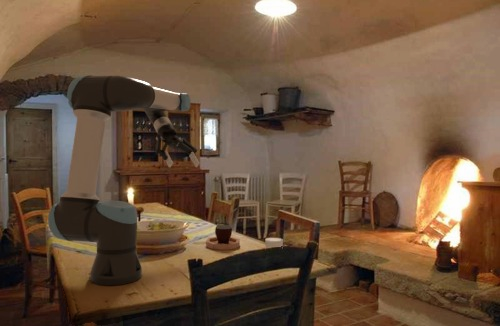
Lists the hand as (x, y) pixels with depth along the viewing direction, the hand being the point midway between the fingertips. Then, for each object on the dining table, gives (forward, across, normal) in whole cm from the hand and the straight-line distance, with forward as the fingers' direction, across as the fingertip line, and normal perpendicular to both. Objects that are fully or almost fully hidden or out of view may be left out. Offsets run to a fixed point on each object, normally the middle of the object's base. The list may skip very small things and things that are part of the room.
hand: (184, 165), depth 161 cm
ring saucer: (+33, -11, -14) cm, 37 cm away
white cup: (+51, -14, +4) cm, 53 cm away
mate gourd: (+32, -12, -14) cm, 37 cm away
